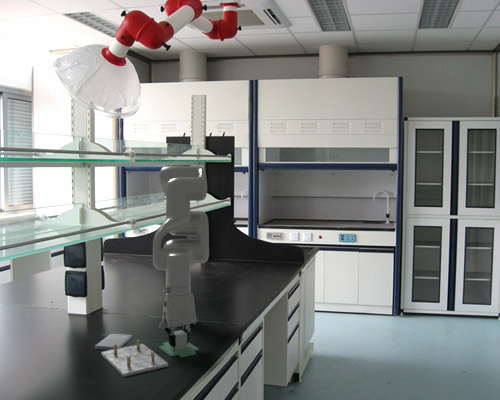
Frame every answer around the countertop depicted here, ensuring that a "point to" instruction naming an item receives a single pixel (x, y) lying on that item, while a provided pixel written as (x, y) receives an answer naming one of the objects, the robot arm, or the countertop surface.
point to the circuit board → (180, 352)
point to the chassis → (133, 359)
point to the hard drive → (113, 341)
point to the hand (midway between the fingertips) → (178, 344)
